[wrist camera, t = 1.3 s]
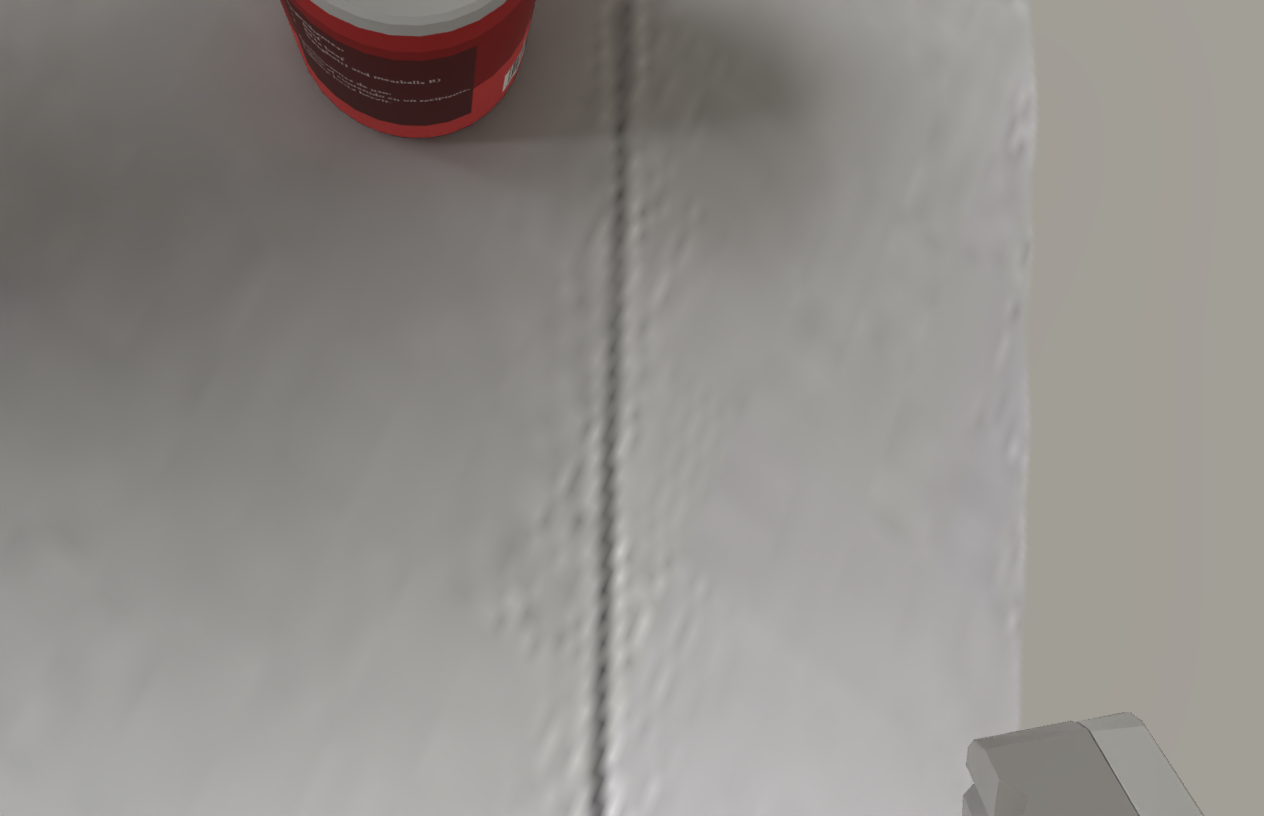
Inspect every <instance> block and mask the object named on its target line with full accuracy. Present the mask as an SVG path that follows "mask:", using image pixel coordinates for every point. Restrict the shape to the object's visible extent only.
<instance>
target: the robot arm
mask: <svg viewBox="0 0 1264 816" xmlns="http://www.w3.org/2000/svg"><path fill="white" fill-rule="evenodd" d="M966 766H967V768H968V770H969V773H970V775H971V777H972V779H973V782H974V784H973V785H972V786H971V787H970V789H969V790H968V791H967V792H966V793H965V794H964V795H963V811H962V816H1204V815H1203V813H1202V812H1201V810H1200V809H1199V807H1198V806H1197V804H1196V802H1195V801H1194V800H1193V798H1192V797H1191V795H1190V793H1189V792H1188V791H1187V789H1186V787H1185V786H1184V784H1183V783H1182V781H1181V780H1180V778H1179V777H1178V775H1177V773H1176V772H1175V770H1174V769H1173V767H1172V766H1171V764H1170V763H1169V761H1168V760H1167V758H1166V757H1165V755H1164V754H1163V752H1162V751H1161V749H1160V748H1159V746H1158V745H1157V743H1156V741H1155V740H1154V738H1153V737H1152V736H1151V734H1150V732H1149V731H1148V729H1147V728H1146V726H1145V725H1144V723H1143V722H1142V721H1141V720H1140V719H1139V718H1137V717H1136V716H1135V715H1134V714H1132V713H1124V712H1123V713H1118V714H1113V715H1108V716H1103V717H1099V718H1093V719H1088V720H1083V721H1078V722H1073V721H1067V722H1063V723H1057V724H1052V725H1047V726H1042V727H1036V728H1032V729H1026V730H1021V731H1016V732H1011V733H1006V734H1000V735H995V736H990V737H985V738H980V739H975V740H973V741H972V742H971V744H970V745H969V747H968V752H967V761H966Z"/></svg>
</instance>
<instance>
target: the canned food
mask: <svg viewBox="0 0 1264 816" xmlns="http://www.w3.org/2000/svg"><path fill="white" fill-rule="evenodd" d="M281 3H282V5H283V8H284V11H285V13H286V16H287V18H288V21H289V24H290V26H291V29H292V32H293V34H294V37H295V39H296V42H297V45H298V47H299V50H300V52H301V54H302V57H303V59H304V61H305V64H306V66H307V68H308V71H309V73H310V74H311V76H312V77H313V78H314V80H315V81H316V83H317V84H318V86H319V87H320V89H321V90H322V92H323V93H324V94H325V95H326V96H327V97H328V98H329V99H330V100H331V101H332V102H333V103H334V104H335V105H336V106H337V107H338V108H339V109H340V110H342V111H343V112H344V113H346V114H347V115H349V116H350V117H352V118H353V119H355V120H356V121H358V122H359V123H361V124H363V125H366V126H368V127H370V128H372V129H375V130H377V131H379V132H382V133H387V134H391V135H395V136H400V137H410V138H429V137H434V136H440V135H445V134H450V133H452V132H455V131H457V130H460V129H462V128H464V127H467V126H469V125H471V124H472V123H474V122H475V121H477V120H478V119H480V118H481V117H483V116H484V115H486V114H487V113H488V112H489V111H490V110H491V109H492V108H493V107H494V106H495V105H496V104H497V103H498V102H499V101H500V100H501V99H502V98H503V97H504V95H505V93H506V92H507V90H508V89H509V87H510V85H511V84H512V82H513V81H514V79H515V77H516V74H517V71H518V69H519V66H520V63H521V61H522V58H523V54H524V50H525V45H526V41H527V36H528V31H529V27H530V22H531V18H532V13H533V9H534V4H535V0H281Z"/></svg>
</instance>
